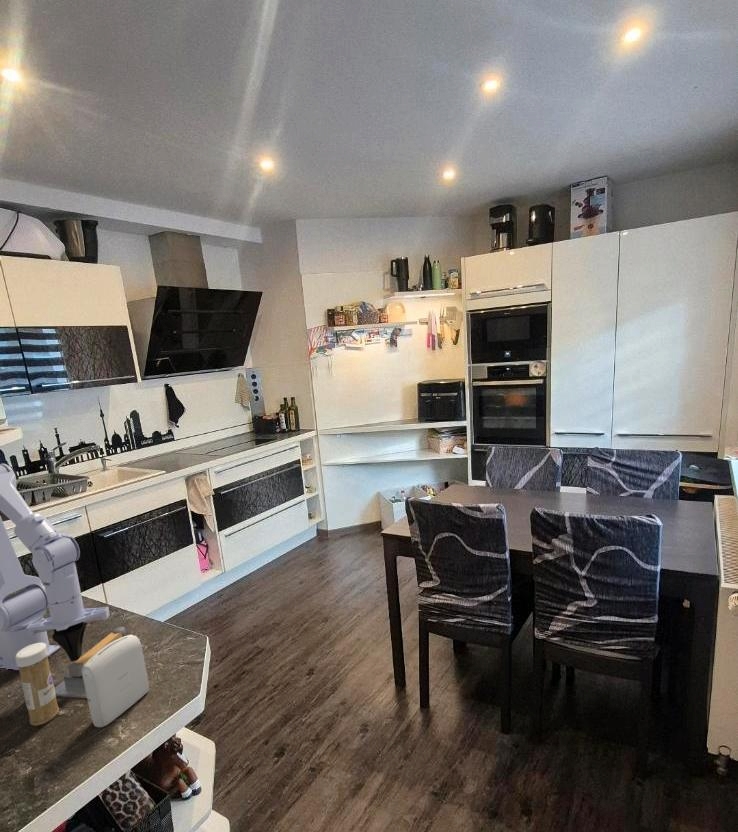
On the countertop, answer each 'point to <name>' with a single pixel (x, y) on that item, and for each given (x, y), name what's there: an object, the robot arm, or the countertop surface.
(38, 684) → the sprinkles bottle
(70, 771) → the countertop surface
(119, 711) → the photo printer
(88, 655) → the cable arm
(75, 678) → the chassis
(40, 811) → the countertop surface
